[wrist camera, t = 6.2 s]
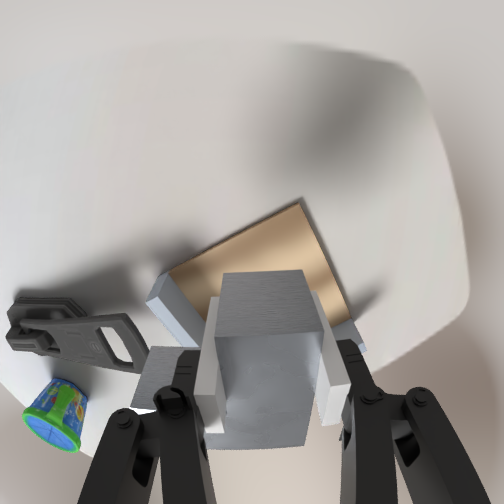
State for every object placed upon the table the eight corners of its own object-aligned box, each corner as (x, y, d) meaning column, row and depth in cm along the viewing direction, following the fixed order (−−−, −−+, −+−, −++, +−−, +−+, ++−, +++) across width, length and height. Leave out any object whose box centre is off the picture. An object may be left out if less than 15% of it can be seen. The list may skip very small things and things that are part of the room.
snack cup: (55, 353, 34) (27, 400, 25) (110, 392, 37) (91, 443, 28) (38, 388, 39) (18, 426, 29) (82, 419, 42) (67, 459, 32)
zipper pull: (161, 380, 27) (16, 374, 28) (172, 340, 33) (35, 346, 34) (126, 312, 23) (-16, 324, 24) (146, 276, 29) (8, 298, 30)
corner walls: (158, 276, 29) (145, 302, 25) (298, 202, 27) (309, 218, 22) (237, 373, 35) (237, 403, 31) (353, 323, 33) (366, 350, 28)
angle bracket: (165, 386, 18) (151, 444, 14) (132, 275, 15) (94, 332, 10) (294, 385, 18) (304, 445, 14) (302, 269, 15) (324, 331, 10)
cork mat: (169, 270, 29) (168, 273, 29) (298, 202, 27) (299, 204, 26) (241, 363, 35) (241, 366, 34) (349, 315, 32) (351, 318, 32)
